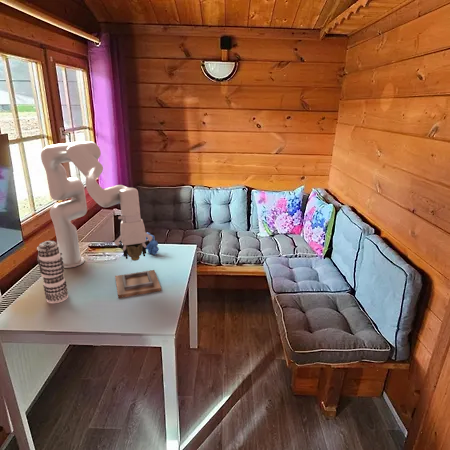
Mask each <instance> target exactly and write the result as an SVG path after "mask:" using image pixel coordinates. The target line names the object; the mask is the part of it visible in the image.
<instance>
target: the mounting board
mask: <svg viewBox="0 0 450 450" xmlns="http://www.w3.org/2000/svg"><path fill="white" fill-rule="evenodd" d="M114 277H115V278H114V279H115V285H116V290H117V291H116V292H117V299H122V298H128V297H135V296H140V295H145V294H150V293H151V294H152V293H156V292H161V291H162V287H161V283H160V280H159V279H158V276H157V273H156V270H155V269H152V270H150V269H149V270H145V271H139V272H138V271H137V272H132V273H131V272H130V273H125V274H119V275H118V274H117V275H114Z"/></svg>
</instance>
